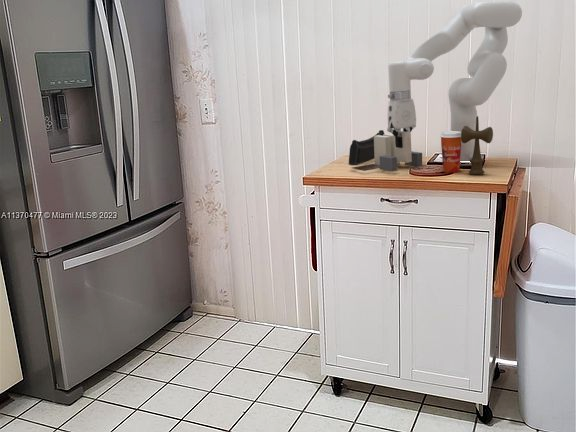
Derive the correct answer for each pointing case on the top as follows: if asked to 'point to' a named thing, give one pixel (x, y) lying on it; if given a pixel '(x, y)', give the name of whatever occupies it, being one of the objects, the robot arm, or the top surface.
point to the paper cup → (451, 151)
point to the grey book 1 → (388, 163)
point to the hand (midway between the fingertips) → (402, 146)
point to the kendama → (476, 145)
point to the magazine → (362, 150)
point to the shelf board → (368, 167)
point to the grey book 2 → (415, 159)
